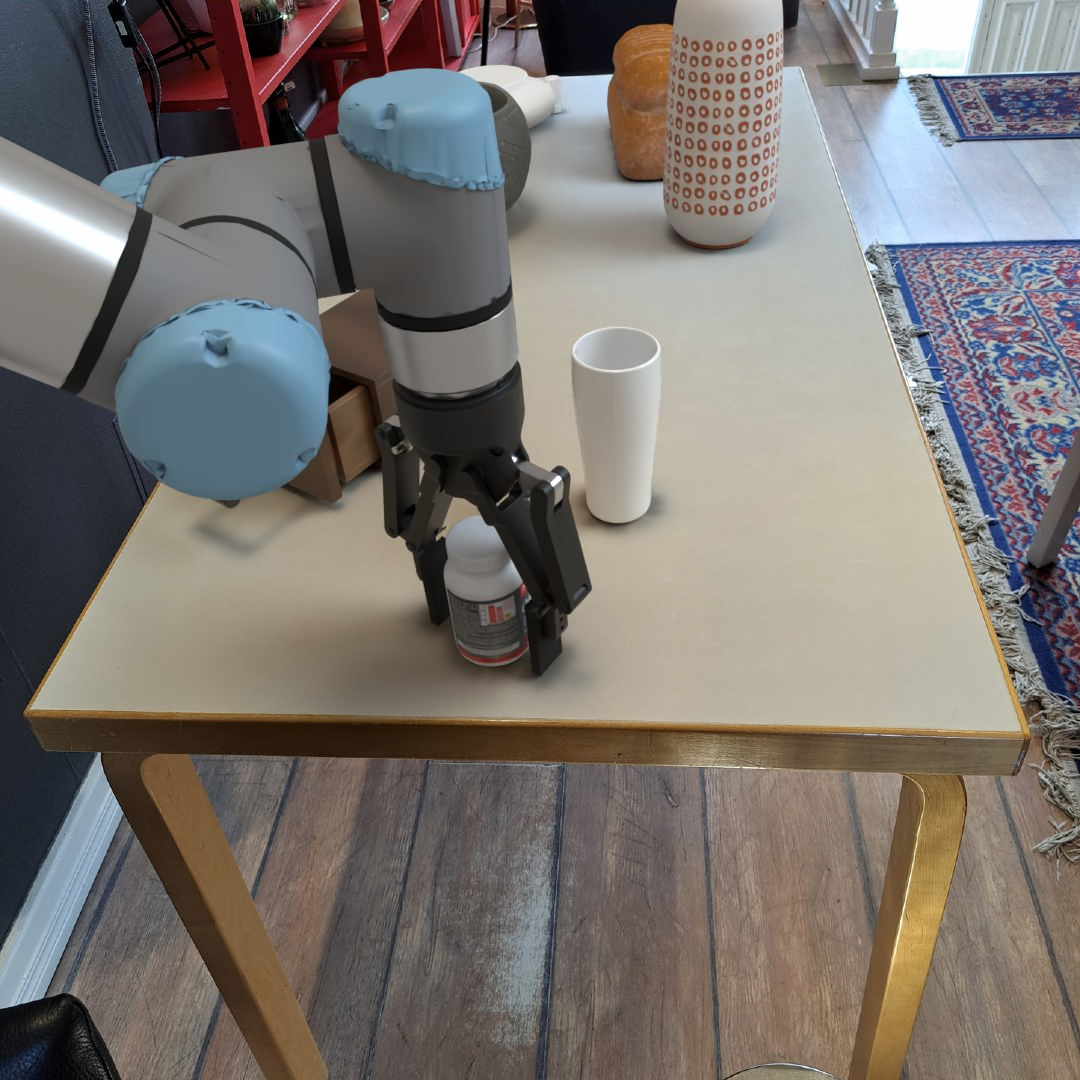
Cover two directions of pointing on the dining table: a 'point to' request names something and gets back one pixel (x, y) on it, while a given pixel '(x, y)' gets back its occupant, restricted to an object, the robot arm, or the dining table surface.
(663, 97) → the bread
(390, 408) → the cabinet
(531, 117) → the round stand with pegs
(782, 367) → the dining table surface
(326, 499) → the drawer
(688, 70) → the white patterned vase
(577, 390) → the drinking glass
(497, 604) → the pill bottle
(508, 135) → the bowl
